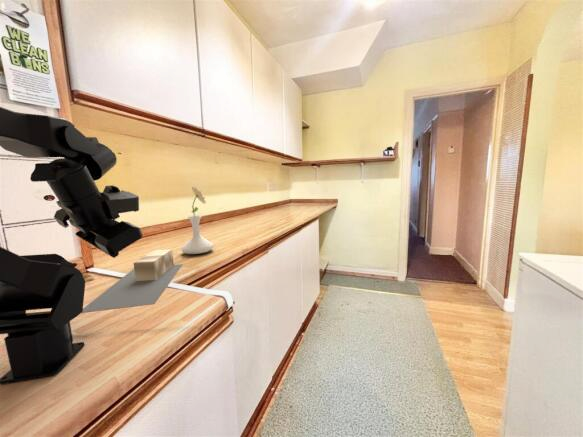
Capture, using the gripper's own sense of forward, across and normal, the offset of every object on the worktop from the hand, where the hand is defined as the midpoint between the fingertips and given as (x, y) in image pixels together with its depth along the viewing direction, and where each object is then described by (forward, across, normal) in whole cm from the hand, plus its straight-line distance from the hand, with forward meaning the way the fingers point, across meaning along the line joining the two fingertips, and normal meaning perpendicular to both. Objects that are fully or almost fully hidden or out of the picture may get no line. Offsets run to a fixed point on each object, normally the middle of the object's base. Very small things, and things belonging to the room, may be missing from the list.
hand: (115, 255), depth 51 cm
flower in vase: (+27, +12, -27) cm, 40 cm away
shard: (+15, +18, +6) cm, 24 cm away
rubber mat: (+13, +1, -2) cm, 13 cm away
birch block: (+11, +3, -5) cm, 12 cm away
